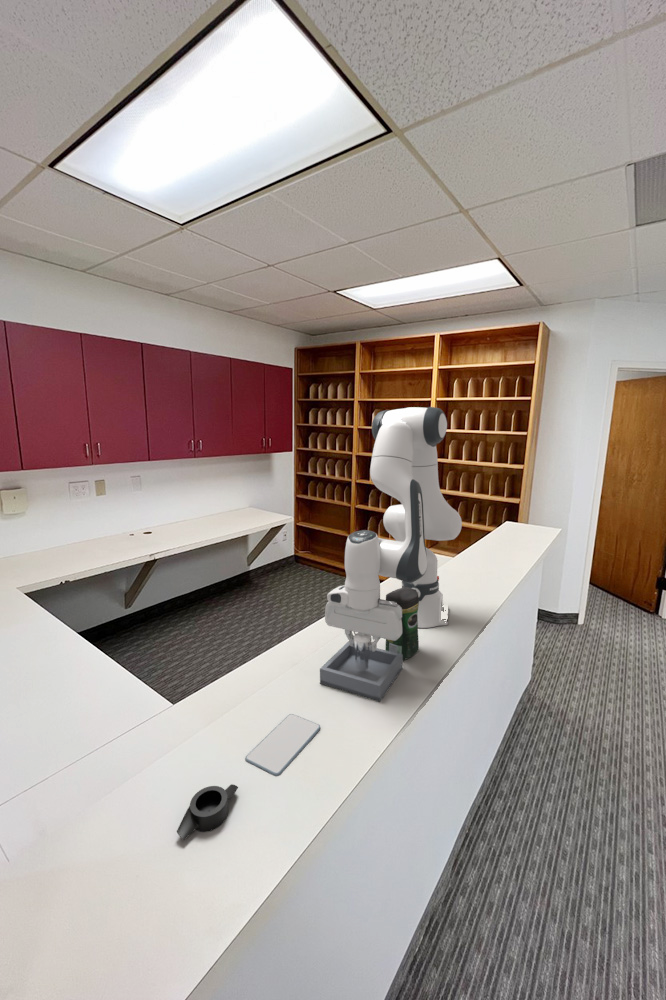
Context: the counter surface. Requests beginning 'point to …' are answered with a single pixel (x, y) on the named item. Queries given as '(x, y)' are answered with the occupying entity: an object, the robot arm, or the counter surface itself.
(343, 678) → the tray
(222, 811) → the black wing nut
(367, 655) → the milkshake
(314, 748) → the counter surface
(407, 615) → the coffee jar
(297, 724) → the smartphone
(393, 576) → the robot arm
